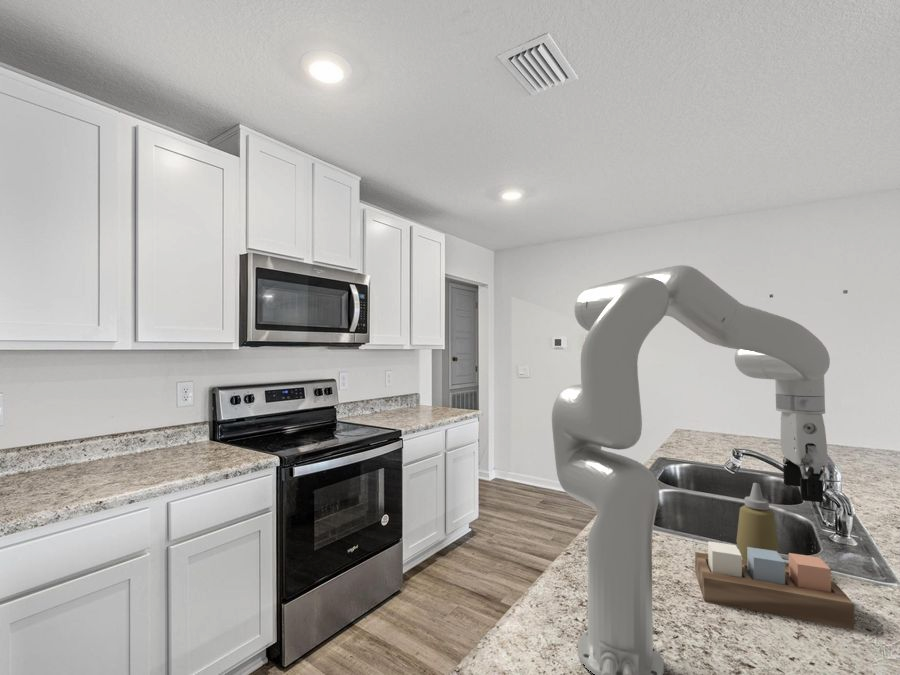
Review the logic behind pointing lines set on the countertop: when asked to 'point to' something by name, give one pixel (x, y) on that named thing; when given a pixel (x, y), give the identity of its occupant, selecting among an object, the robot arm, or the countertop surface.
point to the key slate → (765, 565)
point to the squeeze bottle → (756, 524)
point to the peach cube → (809, 572)
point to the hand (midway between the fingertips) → (802, 492)
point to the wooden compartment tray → (774, 596)
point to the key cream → (724, 559)
